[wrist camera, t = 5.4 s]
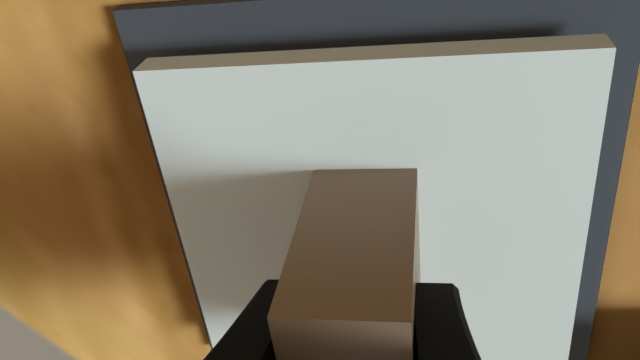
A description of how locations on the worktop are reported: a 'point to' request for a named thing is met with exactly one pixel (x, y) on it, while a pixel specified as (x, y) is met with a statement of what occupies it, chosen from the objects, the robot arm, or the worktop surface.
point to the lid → (386, 187)
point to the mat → (408, 28)
